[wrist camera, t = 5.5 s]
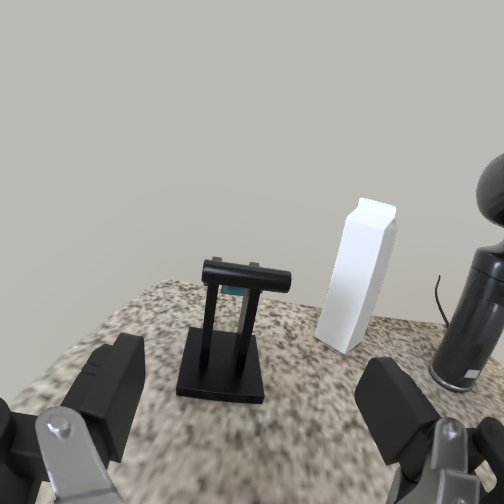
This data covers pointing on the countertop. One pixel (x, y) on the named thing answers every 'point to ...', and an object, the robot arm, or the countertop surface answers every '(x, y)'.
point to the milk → (357, 274)
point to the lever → (245, 277)
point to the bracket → (223, 356)
